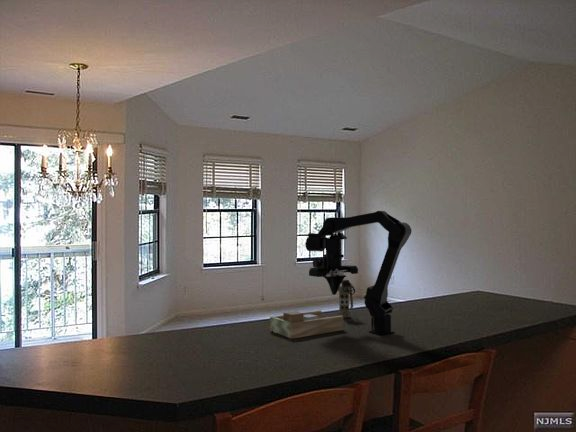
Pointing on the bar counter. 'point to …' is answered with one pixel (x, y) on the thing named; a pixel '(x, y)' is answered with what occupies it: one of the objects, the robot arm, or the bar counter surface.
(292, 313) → the walnut block
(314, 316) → the trapped block
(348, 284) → the grenade model
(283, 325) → the box
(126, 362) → the bar counter surface
